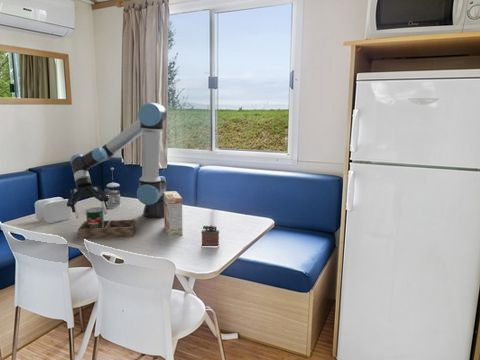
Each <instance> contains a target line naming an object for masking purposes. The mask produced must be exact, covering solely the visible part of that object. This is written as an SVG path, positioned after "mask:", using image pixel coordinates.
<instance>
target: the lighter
mask: <svg viewBox="0 0 480 360" xmlns="http://www.w3.org/2000/svg"><path fill="white" fill-rule="evenodd" d="M219 235H220V230H217V226H215V225H212V224H211V225H203V226H202V230H201V247H202V246H218V245H219V246H220V244H219V243H220V242H219V239H220V236H219Z"/></svg>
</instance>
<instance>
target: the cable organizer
mask: <svg viewBox="0 0 480 360" xmlns="http://www.w3.org/2000/svg"><path fill="white" fill-rule="evenodd" d="M68 200H69V198H66V199H64V198H63V197H60V196H57V197H51V198H50V197H49V198H44V199H39V200H37V201H35V202H34V210H35V211H34V212H35V213H34V214H35V219H36V220H38V221H44V222H45V223H47V224H54V223H55V224H56V223H57V222H60V221H62V222H63V221H68V220H70V218H72V216H73V214H72V213H73V212H72V208H71V207H67V202H68Z"/></svg>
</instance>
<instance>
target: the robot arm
mask: <svg viewBox="0 0 480 360" xmlns="http://www.w3.org/2000/svg"><path fill="white" fill-rule="evenodd" d="M137 113H138V114H137V117H138V119H137V120H136V121H134V122H133V123H131V124H130V125H129V126H127V127H126V128H125V129H123V131H121V132H120V133H118V134H117V135H116V136H114V137H113V138H112V139H111V140H109V141H108V142H106V143H105V144H104V145H103V146H98V147H95V148H93V149H92V150H91V151H90V150H89V151H88V152H87V153H84V154H81V153H80V154H79V153H77V154H73V155H72V156H71V157H70V160H69V161H70V167H71V170H72V173H73V177H74V181H75V186H76V188H74V187H73V188H72V187H71V188H70V195H69V196H68V202H67V207H71V212H72V213H74V215H75V219H78V218H79V212H78V207H77V202H79V200H80V198H81V197H83V198H84V197H90V196H91V197H94V198H95V199H96V200H97V201H99V202H100V203H101V206H102V208H103V215H107V213H108V210H107V209H108V208H107V205H108V204H107V202H109V197H108V196H109V195H108V196H107V193H106V192H104V191H103V190H102V189H101V188H100V185H96V186H93V183H92V179H91V176H90V173H89V172H90V171H89V169H91V168H93V167H95V166H96V165H98V164H100V163H103V162H105V161H109V160H111V159H112V158H113V157H114V156H115V154H118V152H120V151H121V150H122V149H124V148H126V146H129V145H130V143H132V142H133V141H135V140H136V139H137V138H139V137H140V136H141V135H142V168H141V169H142V171H141V172H142V173H141V174H142V175H141V177H140V178H139V179H138V183H139V184H138V188H137V190H136V191H137V192H136V198H137V200H138V201H139V202H140V203H142V204H143V205H144V208H143V211H142V213H143V214H142V215H143V217H146V218H151V219H154V218H155V219H159V218H164V192H167V180H166V177H165V176H162V175H160V174H159V172H160V171H159V169H160V140H161V139H160V138H161V137H160V136H161V135H160V134H161V132H162V131H163V130H164V121H165V120H166V118H167V110H166V108H165V107H164V105H162V104H161V103H158V102H146V103H144V104H143V105H141V106H140V108H139V109H138V112H137ZM76 192H77V194H78V195H76V197H75V198H74V195H75V194H76ZM96 192H97V193H96ZM105 193H106V194H105ZM73 198H74V200H73ZM72 200H73V201H72Z"/></svg>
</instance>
